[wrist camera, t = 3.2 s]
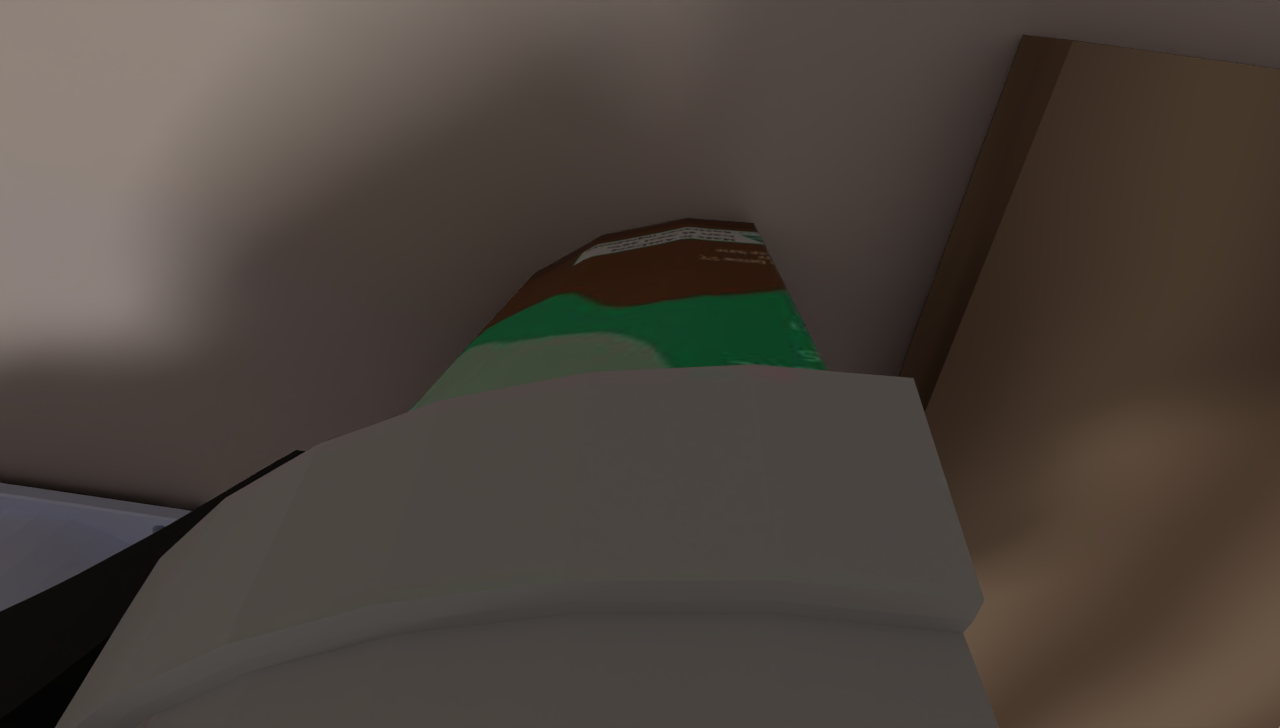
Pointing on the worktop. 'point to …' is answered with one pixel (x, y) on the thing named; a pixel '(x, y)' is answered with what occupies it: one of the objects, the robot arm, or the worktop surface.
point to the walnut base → (1117, 390)
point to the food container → (583, 534)
